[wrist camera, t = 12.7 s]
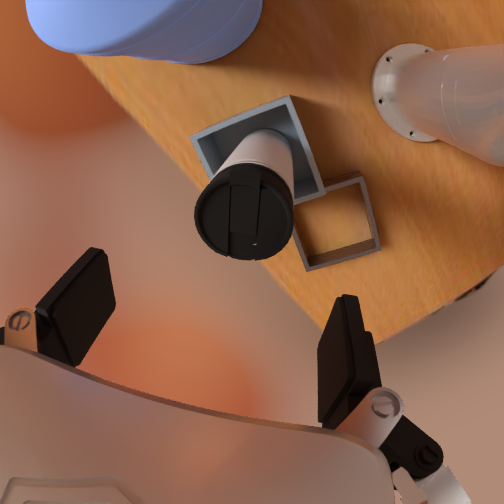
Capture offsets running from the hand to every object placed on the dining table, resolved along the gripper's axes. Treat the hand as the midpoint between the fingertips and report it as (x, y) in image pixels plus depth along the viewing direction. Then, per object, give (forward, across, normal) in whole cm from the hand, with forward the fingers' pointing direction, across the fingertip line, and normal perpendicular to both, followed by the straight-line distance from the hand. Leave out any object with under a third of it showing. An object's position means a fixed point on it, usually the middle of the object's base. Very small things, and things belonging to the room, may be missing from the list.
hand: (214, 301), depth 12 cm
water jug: (+28, +11, -17) cm, 35 cm away
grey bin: (+28, +1, 0) cm, 28 cm away
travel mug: (+27, 0, 0) cm, 27 cm away
